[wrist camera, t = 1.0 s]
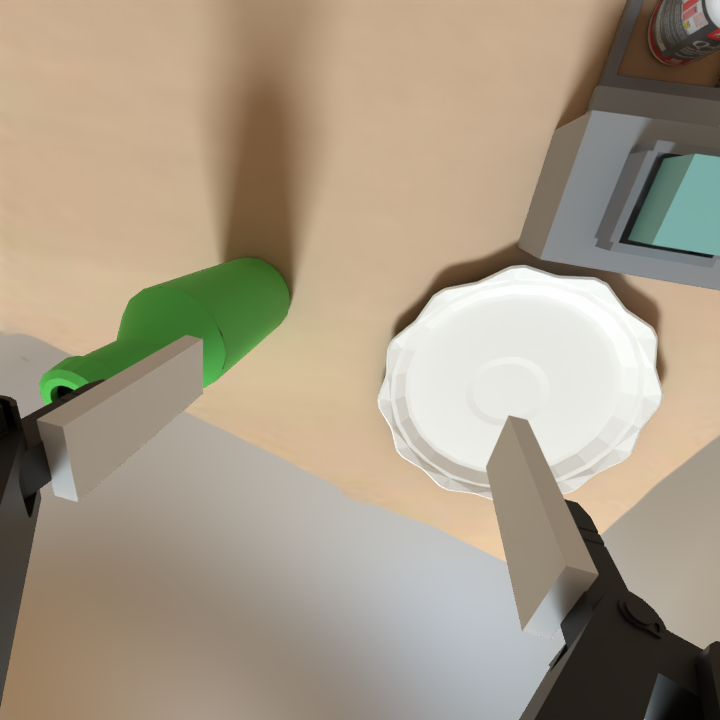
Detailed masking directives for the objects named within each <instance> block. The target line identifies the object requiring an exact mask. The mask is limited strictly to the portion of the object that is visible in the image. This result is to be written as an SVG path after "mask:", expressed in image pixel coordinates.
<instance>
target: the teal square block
mask: <svg viewBox="0 0 720 720" xmlns="http://www.w3.org/2000/svg"><path fill="white" fill-rule="evenodd" d="M628 240H632V241H637V242H642V243H646V244H651V245H657V246H663V247H669V248H675V249H681V250H687V251H693V252H699V253H705V254H711V255H717V256H720V157H715V156H708V155H701V154H690V155H684V156H678V157H671V158H665V159H664V160H663V162H662V164H661V166H660V169H659V171H658V173H657V175H656V178H655V180H654V182H653V184H652V186H651V189H650V191H649V193H648V195H647V198H646V200H645V202H644V204H643V207H642V209H641V211H640V213H639V216H638V218H637V220H636V222H635V225H634V227H633V229H632V231H631V234H630V236H629V238H628Z"/></svg>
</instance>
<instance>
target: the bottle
mask: <svg viewBox="0 0 720 720" xmlns="http://www.w3.org/2000/svg"><path fill="white" fill-rule="evenodd" d="M289 305H290V298H289V290H288V287H287V285H286V283H285V281H284V279H283V277H282V276H281V275H280V273H279V272H278V271H277V270H276V269H275V268H274V267H273V266H272V265H270V264H268V263H266V262H265V261H263V260H261V259H257V258H251V257H245V258H240V259H235V260H232V261H229V262H226V263H223V264H220V265H217V266H213V267H210V268H207V269H204V270H201V271H198V272H195V273H192V274H189V275H186V276H182V277H179V278H176V279H173V280H170V281H167V282H164V283H161V284H158V285H155V286H152V287H149V288H146V289H143V290H142V291H140V292H139V293H138V294H137V295H135V296H134V297H133V298H131V299H130V300H129V303H128V305H127V307H126V309H125V311H124V313H123V316H122V320H121V324H120V328H119V332H118V336H117V340H116V341H115V342H112V343H110V344H108V345H106V346H104V347H102V348H100V349H97V350H95V351H93V352H91V353H89V354H87V355H85V356H74V357H69V358H66V359H65V360H63V361H62V362H60V363H59V364H58V365H56V366H55V367H53V368H52V369H51V370H49V371H48V372H47V373H45V374H44V375H43V377H42V379H41V382H40V394H41V396H42V398H43V401H44V403H45V404H46V405H48V404H50V403H52V402H53V401H55V400H59V399H60V398H61V397H63V396H65V395H66V394H68V393H69V394H71V392H72V391H74V390H76V389H77V388H79V387H81V386H83V385H85V384H88V383H91V382H94V381H98V380H101V379H105V380H107V379H109V378H111V377H113V376H114V375H116V374H118V373H120V372H122V371H123V370H125V369H127V368H129V367H130V366H132V365H134V364H136V363H137V362H139V361H141V360H143V359H144V358H146V357H148V356H150V355H152V354H153V353H155V352H157V351H159V350H160V349H162V348H164V347H166V346H167V345H169V344H171V343H173V342H174V341H176V340H178V339H180V338H181V337H183V336H185V335H189V336H193V337H197V338H201V339H203V388H204V387H206V386H208V385H210V384H211V383H213V382H215V381H216V380H218V379H219V378H220V377H221V376H222V375H223V374H224V373H226V372H227V371H228V370H229V369H230V368H231V367H232V366H234V365H235V364H236V363H237V362H238V361H239V360H240V359H242V358H243V357H244V356H245V355H246V354H247V353H248V352H250V351H251V350H252V349H253V348H254V347H255V346H256V345H258V344H259V343H260V342H261V341H262V340H263V339H264V338H265V337H266V336H268V335H269V334H270V333H271V332H272V331H273V330H274V329H275V328H277V327H278V326H279V325H280V324H281V323H282V321H283V320H284V318H285V317H286V316H287V313H288V309H289Z"/></svg>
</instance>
